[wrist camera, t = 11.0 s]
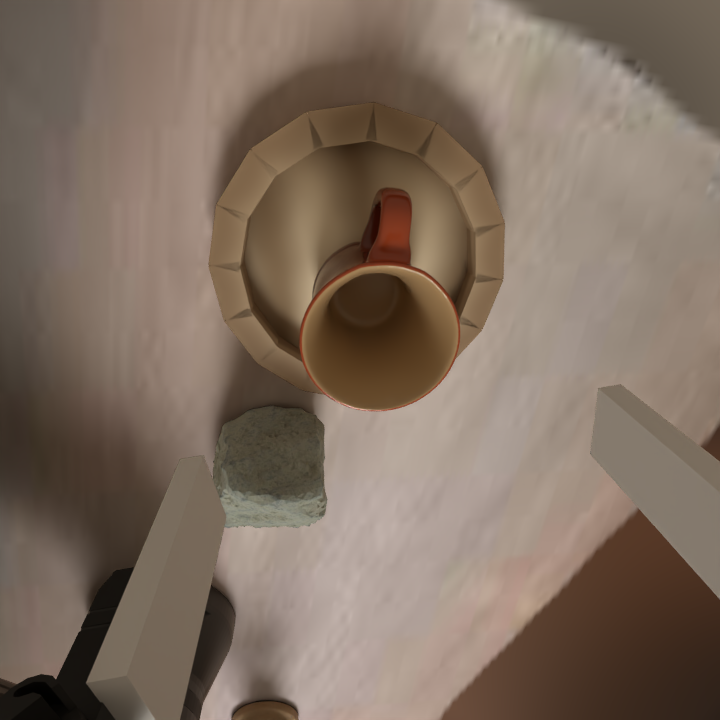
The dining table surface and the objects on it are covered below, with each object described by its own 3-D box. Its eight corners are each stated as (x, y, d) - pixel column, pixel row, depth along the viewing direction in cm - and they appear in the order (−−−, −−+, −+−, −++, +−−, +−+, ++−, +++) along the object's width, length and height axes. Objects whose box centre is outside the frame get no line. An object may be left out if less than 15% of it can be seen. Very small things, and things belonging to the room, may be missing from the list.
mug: (409, 345, 35) (442, 416, 26) (300, 335, 34) (294, 407, 25) (440, 185, 30) (494, 205, 21) (312, 168, 29) (310, 181, 20)
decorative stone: (260, 358, 36) (173, 456, 30) (375, 430, 35) (310, 545, 29) (247, 426, 46) (181, 509, 40) (336, 483, 45) (282, 576, 39)
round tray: (255, 396, 37) (250, 415, 35) (182, 131, 28) (169, 130, 26) (488, 361, 38) (501, 376, 35) (491, 88, 29) (508, 83, 26)
